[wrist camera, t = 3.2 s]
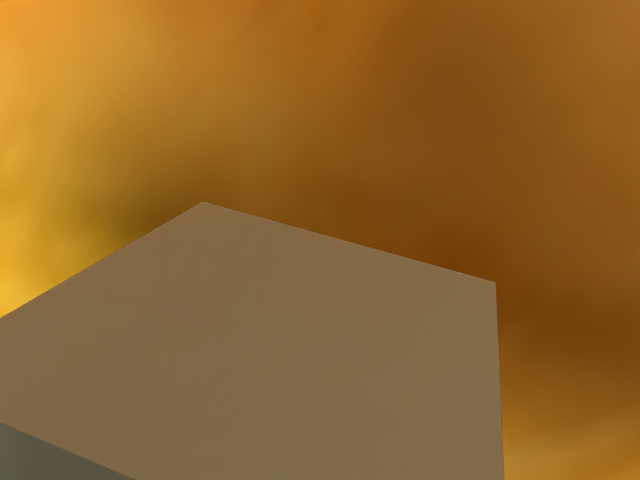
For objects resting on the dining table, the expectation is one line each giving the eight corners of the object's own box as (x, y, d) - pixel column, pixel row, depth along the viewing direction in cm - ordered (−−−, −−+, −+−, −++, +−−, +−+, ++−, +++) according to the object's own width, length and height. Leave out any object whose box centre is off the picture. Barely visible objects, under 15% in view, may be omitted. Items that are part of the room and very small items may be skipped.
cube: (416, 501, 10) (358, 899, 5) (190, 414, 11) (-21, 683, 6) (495, 282, 7) (510, 639, 3) (203, 201, 8) (-104, 377, 4)
